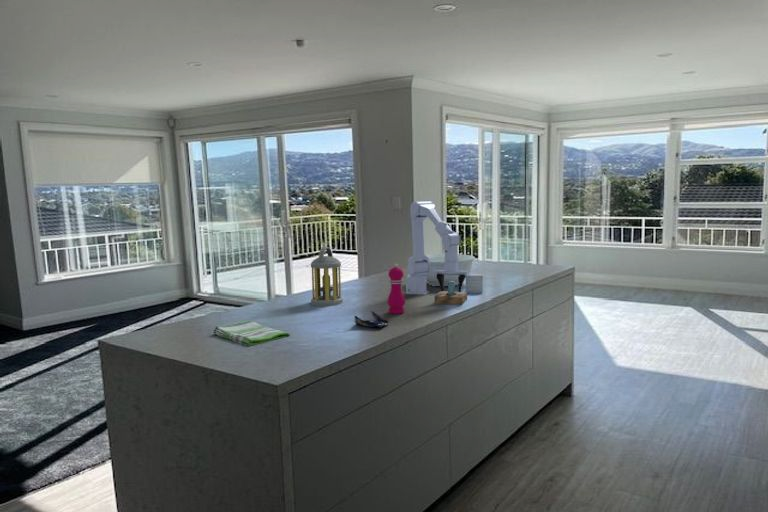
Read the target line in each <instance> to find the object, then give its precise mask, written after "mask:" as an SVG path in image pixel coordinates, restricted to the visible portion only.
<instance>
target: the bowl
mask: <svg viewBox="0 0 768 512" xmlns="http://www.w3.org/2000/svg"><path fill="white" fill-rule="evenodd" d="M425 255H426V256H427V257H428V258H429V264H430V271H429V272H428V275H426V280H427V282H428V285H429V286H430V285H432V286H431V287H435V286H440V284H439V281H438V279H437V277H436V276H437V275H434V271H435V270H445V253H430V254H425ZM475 258H476V257H475V256H474V255H470V254H462V253H461V254H459V253H458V270H461V271H468V274H470V272H471V270H472V266H473V261H475ZM418 261H422V260H418ZM447 274H448V273H447ZM459 276H460V275H444V286H448V281H454V282H455V285H457V286H459V285H458V284H459V280H458V277H459Z"/></svg>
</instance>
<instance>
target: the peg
mask: <svg viewBox="0 0 768 512" xmlns="http://www.w3.org/2000/svg"><path fill="white" fill-rule="evenodd" d="M447 291H448V295H455V292H456V286H455V282H454V281H448V287H447Z"/></svg>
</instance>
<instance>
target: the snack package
mask: <svg viewBox="0 0 768 512" xmlns="http://www.w3.org/2000/svg"><path fill="white" fill-rule="evenodd" d="M370 312H371V316H372V318H373V319H374V320H370V319H364V320H363V319H361V318H360V317H359V316H357V315H354V321H353V322H354V323H355V325H356V326H363V327H367V328H371V327H374V328H376V327H375V326H377V327H378V328H382V327H384V326H385V327H387V326H388V325H389V321H388V320H387V319H383V317H382V316H381V315H380V314H378V313H377V312H375V311H372V310H371V311H370ZM382 323H384V324H382ZM385 323H388V324H387V326H386V325H385ZM358 324H360V325H358ZM378 324H381V325H378Z"/></svg>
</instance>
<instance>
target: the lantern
mask: <svg viewBox="0 0 768 512" xmlns="http://www.w3.org/2000/svg"><path fill="white" fill-rule="evenodd" d="M325 252H327V255H325V254H326V253H325ZM341 267H342V263H341V261H340V260H339V259H338V258H337V257H334V256H333V252H332V249H331V248H330V247H328V246H323V247H321V249H320V250H319V253H318V257H316V258H314V259H313V260H312V261H311V263H310V268H311V287H312V289H311V290H312V291H311V292H312V298H311V299H310V304H311V305H313V306H318V307H328V306H329V307H330V306H337V305H341V304H343V303H344V299H343V298H342V290H341V289H342V288H341V287H342V286H341V282H342V281H341ZM321 269H323V275H322V277H321ZM329 269H331V272H332V273H331V275H332V286H331V275H330V273H329ZM321 281H322V284H321ZM321 285H322V287H321ZM331 292H332V293H331Z"/></svg>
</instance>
